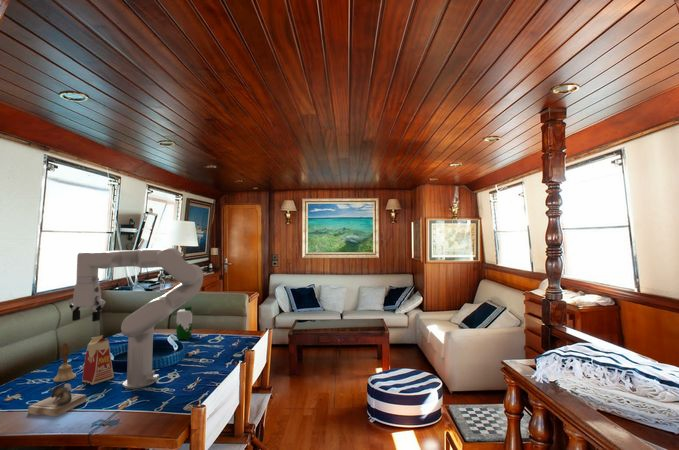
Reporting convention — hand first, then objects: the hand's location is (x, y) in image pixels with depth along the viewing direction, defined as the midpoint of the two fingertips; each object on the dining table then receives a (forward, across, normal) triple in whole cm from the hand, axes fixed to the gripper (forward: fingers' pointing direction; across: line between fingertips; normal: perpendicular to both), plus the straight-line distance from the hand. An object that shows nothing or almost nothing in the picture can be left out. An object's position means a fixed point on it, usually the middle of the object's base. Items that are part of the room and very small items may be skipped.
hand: (86, 320), depth 151 cm
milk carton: (+28, +2, -9) cm, 30 cm away
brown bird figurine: (+26, -8, +18) cm, 32 cm away
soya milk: (+28, +4, -78) cm, 83 cm away
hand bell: (+29, +18, -8) cm, 35 cm away
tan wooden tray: (+28, -6, +17) cm, 34 cm away
